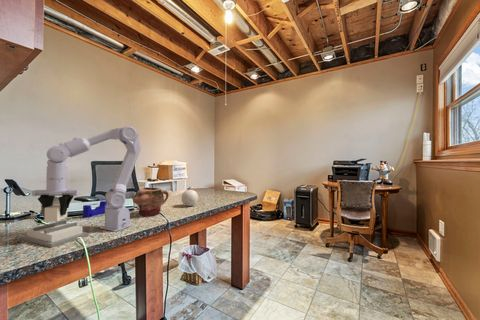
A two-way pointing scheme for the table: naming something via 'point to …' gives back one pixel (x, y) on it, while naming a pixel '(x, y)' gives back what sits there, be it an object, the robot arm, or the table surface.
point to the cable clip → (98, 210)
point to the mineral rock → (55, 201)
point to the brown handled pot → (150, 201)
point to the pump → (53, 213)
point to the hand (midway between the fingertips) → (56, 215)
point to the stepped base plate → (54, 234)
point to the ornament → (189, 197)
